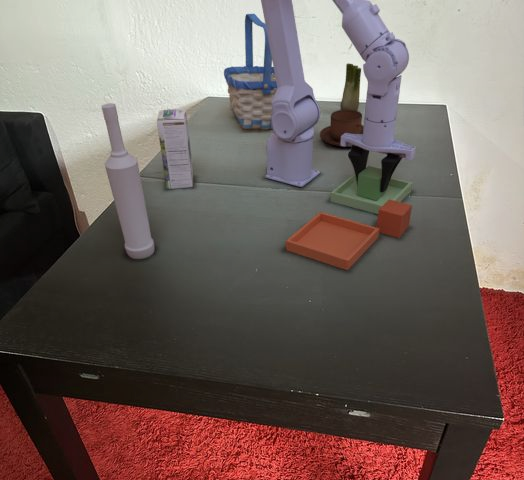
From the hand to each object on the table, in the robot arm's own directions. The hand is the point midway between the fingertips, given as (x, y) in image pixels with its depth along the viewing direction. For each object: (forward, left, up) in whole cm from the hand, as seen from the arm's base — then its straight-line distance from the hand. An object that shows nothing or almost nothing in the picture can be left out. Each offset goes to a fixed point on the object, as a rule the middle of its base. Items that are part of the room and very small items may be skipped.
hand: (372, 187), depth 105 cm
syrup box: (-38, -15, -2) cm, 41 cm away
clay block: (+9, -10, -2) cm, 14 cm away
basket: (-44, +24, -2) cm, 50 cm away
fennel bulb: (-26, +41, -2) cm, 49 cm away
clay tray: (+2, -20, -2) cm, 20 cm away
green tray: (0, 0, -2) cm, 2 cm away
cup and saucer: (-18, +23, -2) cm, 29 cm away
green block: (0, 0, -1) cm, 1 cm away
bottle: (-26, -40, -2) cm, 48 cm away
